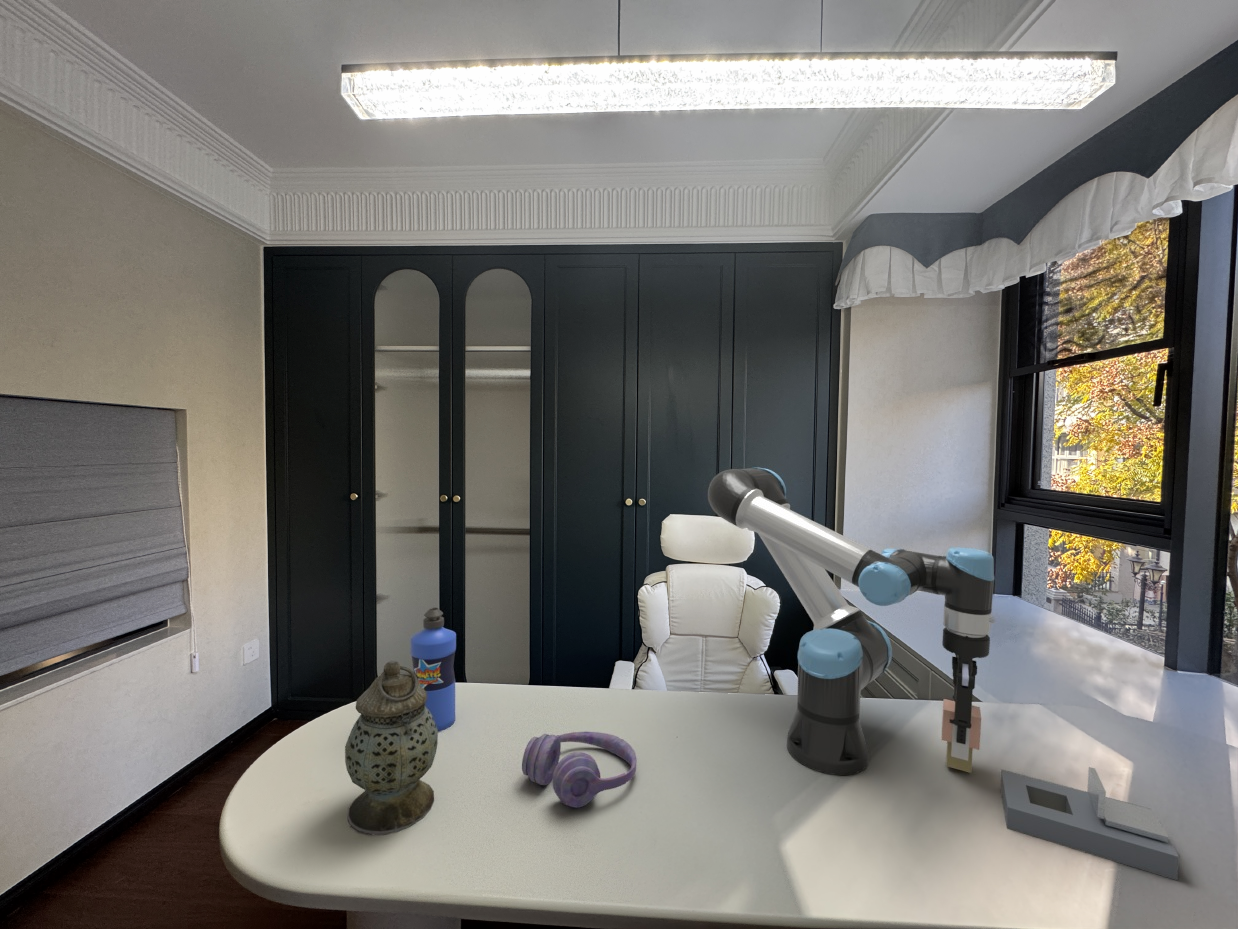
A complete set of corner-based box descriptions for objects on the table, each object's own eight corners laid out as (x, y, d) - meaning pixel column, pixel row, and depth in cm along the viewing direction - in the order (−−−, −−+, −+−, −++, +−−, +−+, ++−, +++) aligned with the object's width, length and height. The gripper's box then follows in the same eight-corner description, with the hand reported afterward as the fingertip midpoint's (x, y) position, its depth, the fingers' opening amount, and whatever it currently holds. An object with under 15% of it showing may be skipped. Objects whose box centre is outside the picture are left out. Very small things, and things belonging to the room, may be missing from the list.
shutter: (1097, 822, 85) (1099, 789, 84) (1087, 797, 91) (1088, 767, 90) (1168, 842, 80) (1170, 808, 80) (1152, 815, 86) (1154, 783, 86)
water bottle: (448, 734, 114) (448, 616, 113) (403, 733, 114) (403, 615, 113) (461, 711, 124) (461, 602, 122) (420, 711, 124) (420, 602, 123)
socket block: (1006, 828, 88) (1007, 807, 88) (1000, 788, 99) (1001, 769, 99) (1177, 880, 78) (1178, 856, 78) (1150, 829, 89) (1151, 808, 88)
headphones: (574, 826, 87) (653, 789, 101) (581, 773, 87) (658, 743, 102) (506, 777, 99) (585, 750, 114) (512, 730, 100) (590, 709, 114)
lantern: (441, 777, 100) (441, 642, 99) (431, 831, 86) (431, 675, 85) (358, 786, 97) (357, 647, 96) (334, 844, 83) (333, 683, 82)
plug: (940, 765, 104) (943, 709, 103) (940, 752, 108) (943, 698, 108) (977, 776, 101) (981, 718, 100) (976, 762, 105) (979, 707, 105)
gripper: (994, 651, 94) (985, 782, 95) (986, 621, 109) (979, 734, 110) (943, 641, 97) (935, 767, 99) (943, 614, 113) (937, 723, 114)
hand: (959, 750), depth 105 cm, fingers closed on plug, 5 cm apart
